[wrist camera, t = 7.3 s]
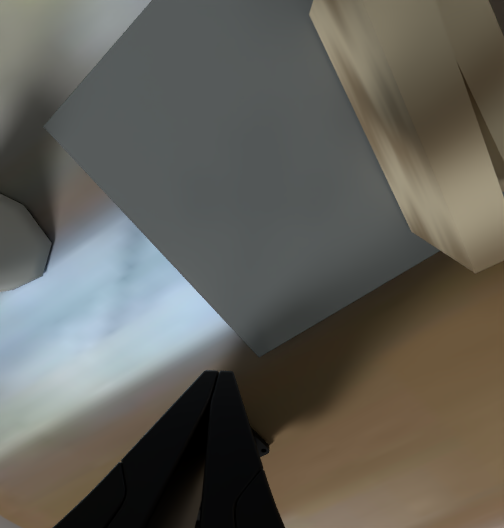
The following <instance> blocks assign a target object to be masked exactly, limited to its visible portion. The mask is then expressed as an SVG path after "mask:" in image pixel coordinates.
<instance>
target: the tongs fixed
mask: <svg viewBox="0 0 504 528" xmlns="http://www.w3.org/2000/svg"><path fill="white" fill-rule="evenodd" d="M436 3H437V6H438V8H439V11H440V14H441V17H442V20H443V23H444V26H445V29H446V32H447V34H448V37H449V40H450V43H451V46H452V49H453V52H454V55H455V58H456V60H457V63H458V66H459V69H460V72H461V75H462V78H463V81H464V84H465V87H466V89H467V92H468V95H469V98H470V101H471V104H472V107H473V110H474V113H475V115H476V118H477V121H478V124H479V127H480V130H481V133H482V136H483V139H484V142H485V144H486V147H487V150H488V153H489V156H490V159H491V162H492V165H493V168H494V170H495V173H496V176H497V179H498V182H499V185H500V188H501V191H502V192H504V36H503V34H502V31H501V29H500V26H499V24H498V22H497V19H496V17H495V14H494V12H493V9H492V7H491V5H490V2H489V0H436Z"/></svg>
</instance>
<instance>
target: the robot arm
mask: <svg viewBox="0 0 504 528" xmlns="http://www.w3.org/2000/svg"><path fill="white" fill-rule="evenodd" d="M268 453H269V445H268V444H267V443H266V442H265V441H264V440H263V439H262V438H261V437H260V436H259V435H258V434H257V433H256V432H255V431H254V430H253V429H252V428H251V427H250V424H249V421H248V417H247V414H246V411H245V408H244V405H243V401H242V398H241V395H240V392H239V389H238V385H237V382H236V379H235V376H234V373H233V372H232V371H220V372H218V371H213V370H206V371H204V372H203V373H202V374H201V375H200V376H199V377H198V378H197V379H196V381H195V382H194V383H193V384H192V385H191V386H190V387H189V388H188V389H187V390H186V391H185V392H184V393H183V394H182V396H181V397H180V398H179V399H178V400H177V401H176V402H175V403H174V404H173V405H172V406H171V407H170V408H169V409H168V411H167V412H166V413H165V414H164V415H163V416H162V417H161V418H160V419H159V420H158V421H157V422H156V423H155V424H154V426H153V427H152V428H151V429H150V430H149V431H148V432H147V433H146V434H145V435H144V436H143V437H142V438H141V439H140V441H139V442H138V443H137V444H136V445H135V446H134V447H133V448H132V449H131V450H130V451H129V452H128V453H127V454H126V456H125V457H124V458H123V459H122V460H121V462H119V463H118V464H117V465H116V466H115V467H114V468H113V469H112V470H111V471H110V472H109V474H108V475H107V476H106V477H105V478H104V479H103V480H102V481H101V482H100V483H99V484H98V485H97V486H96V487H95V488H94V489H93V490H92V491H91V492H90V493H89V494H88V495H87V496H86V497H85V498H84V499H83V500H82V501H81V502H80V503H79V504H78V505H77V506H76V507H74V508H73V509H72V510H71V511H70V512H69V513H68V514H67V515H66V516H65V517H64V518H63V519H62V520H61V521H60V522H58V523H57V524H56V525H55V526H54V527H53V528H285V526H284V524H283V522H282V519H281V517H280V514H279V512H278V509H277V507H276V504H275V501H274V498H273V496H272V493H271V490H270V487H269V484H268V481H267V478H266V475H265V471H264V470H263V465H262V462H261V459H260V457H262V456H264V455H266V454H268Z"/></svg>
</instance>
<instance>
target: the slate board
mask: <svg viewBox="0 0 504 528" xmlns="http://www.w3.org/2000/svg"><path fill="white" fill-rule="evenodd" d="M312 3H313V0H152V1H151V2H150V3H149V4H148V6H147V7H146V8H145V9H144V10H143V11H142V13H141V14H140V15H139V16H138V17H137V18H136V19H135V21H134V22H133V23H132V24H131V25H130V26H129V28H128V29H127V30H126V31H125V32H124V33H123V35H122V36H121V37H120V38H119V39H118V40H117V42H116V43H115V44H114V45H113V46H112V47H111V48H110V50H109V51H108V52H107V53H106V54H105V55H104V57H103V58H102V59H101V60H100V61H99V62H98V64H97V65H96V66H95V67H94V68H93V69H92V70H91V72H90V73H89V74H88V75H87V76H86V77H85V79H84V80H83V81H82V82H81V83H80V84H79V86H78V87H77V88H76V89H75V90H74V91H73V93H72V94H71V95H70V96H69V97H68V98H67V99H66V101H65V102H64V103H63V104H62V105H61V106H60V108H59V109H58V110H57V111H56V112H55V113H54V115H53V116H52V117H51V118H50V119H49V120H48V121H47V123H46V124H45V125H44V126H43V127H44V128H45V129H46V130H47V131H48V132H49V133H50V135H51V136H52V137H53V138H54V139H55V140H56V141H57V142H58V143H59V144H60V145H61V146H62V147H63V148H64V150H65V151H66V152H67V153H68V154H69V155H70V156H71V157H72V158H73V159H74V160H75V161H76V162H77V163H78V164H79V166H80V167H81V168H82V169H83V170H84V171H85V172H86V173H87V174H88V175H89V176H90V177H91V178H92V179H93V181H94V182H95V183H96V184H97V185H98V186H99V187H100V188H101V189H102V190H103V191H104V192H105V193H106V194H107V195H108V197H109V198H110V199H111V200H112V201H113V202H114V203H115V204H116V205H117V206H118V207H119V208H120V209H121V210H122V212H123V213H124V214H125V215H126V216H127V217H128V218H129V219H130V220H131V221H132V222H133V223H134V224H135V225H136V226H137V228H138V229H139V230H140V231H141V232H142V233H143V234H144V235H145V236H146V237H147V238H148V239H149V240H150V241H151V243H152V244H153V245H154V246H155V247H156V248H157V249H158V250H159V251H160V252H161V253H162V254H163V255H164V256H165V257H166V259H167V260H168V261H169V262H170V263H171V264H172V265H173V266H174V267H175V268H176V269H177V270H178V271H179V272H180V274H181V275H182V276H183V277H184V278H185V279H186V280H187V281H188V282H189V283H190V284H191V285H192V286H193V287H194V288H195V290H196V291H197V292H198V293H199V294H200V295H201V296H202V297H203V298H204V299H205V300H206V301H207V302H208V303H209V305H210V306H211V307H212V308H213V309H214V310H215V311H216V312H217V313H218V314H219V315H220V316H221V317H222V318H223V319H224V321H225V322H226V323H227V324H228V325H229V326H230V327H231V328H232V329H233V330H234V331H235V332H236V333H237V334H238V335H239V337H240V338H241V339H242V340H243V341H244V342H245V343H246V344H247V345H248V346H249V347H250V348H251V349H252V350H253V352H254V353H255V354H256V355H257V356H258V357H261V356H262V355H264V354H266V353H268V352H269V351H271V350H273V349H274V348H276V347H278V346H279V345H281V344H283V343H284V342H286V341H288V340H290V339H291V338H293V337H295V336H296V335H298V334H300V333H301V332H303V331H305V330H306V329H308V328H310V327H312V326H313V325H315V324H317V323H318V322H320V321H322V320H323V319H325V318H327V317H329V316H330V315H332V314H334V313H335V312H337V311H339V310H340V309H342V308H344V307H345V306H347V305H349V304H351V303H352V302H354V301H356V300H357V299H359V298H361V297H362V296H364V295H366V294H367V293H369V292H371V291H373V290H374V289H376V288H378V287H379V286H381V285H383V284H384V283H386V282H388V281H389V280H391V279H393V278H395V277H396V276H398V275H400V274H401V273H403V272H405V271H406V270H408V269H410V268H412V267H413V266H415V265H417V264H418V263H420V262H422V261H423V260H425V259H427V258H428V257H430V256H432V255H434V254H435V253H437V252H439V251H440V250H439V249H437V248H436V247H434V246H433V245H431V244H429V243H428V242H426V241H425V240H423V239H422V238H420V237H419V236H417V235H416V234H414V233H413V232H411V230H410V228H409V225H408V223H407V221H406V219H405V217H404V215H403V213H402V211H401V209H400V206H399V204H398V202H397V200H396V198H395V196H394V194H393V192H392V189H391V187H390V185H389V183H388V181H387V179H386V177H385V175H384V172H383V170H382V168H381V166H380V164H379V162H378V160H377V158H376V155H375V153H374V151H373V149H372V147H371V145H370V143H369V141H368V139H367V136H366V134H365V132H364V130H363V128H362V126H361V124H360V122H359V119H358V117H357V115H356V113H355V111H354V109H353V107H352V105H351V102H350V100H349V98H348V96H347V94H346V92H345V90H344V88H343V85H342V83H341V81H340V79H339V77H338V75H337V73H336V71H335V69H334V66H333V64H332V62H331V60H330V58H329V56H328V54H327V52H326V49H325V47H324V45H323V43H322V41H321V39H320V37H319V35H318V32H317V30H316V28H315V26H314V24H313V22H312V20H311V18H310V15H309V13H310V9H311V6H312ZM502 194H503V197H504V192H502Z"/></svg>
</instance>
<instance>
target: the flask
mask: <svg viewBox="0 0 504 528" xmlns="http://www.w3.org/2000/svg"><path fill="white" fill-rule="evenodd" d="M51 244H52V243H51V242H50V240H49V239H48V237H47V236H46V235H45V233H44V232H43V231H42V229H41V228H40V227H39V225H38V224H37V223H36V221H35V220H34V218H33V217H32V216H31V214H30V213H29V212H28V210H27V209H26V208H25V206H24V205H22V204H20V203H18V202H16V201H14V200H12V199H10V198H8V197H6V196H4V195H2V194H0V292H4V291H10V290H14V289H16V288H18V287H20V286H23V285H25V284H27V283H29V282H31V281H33V280H35V279H37V278H39V277H42V276H43V273H44V269H45V266H46V262H47V258H48V255H49V251H50V248H51Z"/></svg>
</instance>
